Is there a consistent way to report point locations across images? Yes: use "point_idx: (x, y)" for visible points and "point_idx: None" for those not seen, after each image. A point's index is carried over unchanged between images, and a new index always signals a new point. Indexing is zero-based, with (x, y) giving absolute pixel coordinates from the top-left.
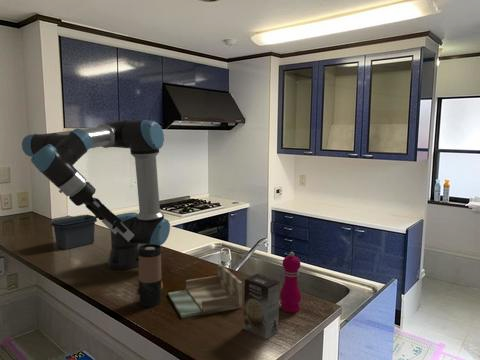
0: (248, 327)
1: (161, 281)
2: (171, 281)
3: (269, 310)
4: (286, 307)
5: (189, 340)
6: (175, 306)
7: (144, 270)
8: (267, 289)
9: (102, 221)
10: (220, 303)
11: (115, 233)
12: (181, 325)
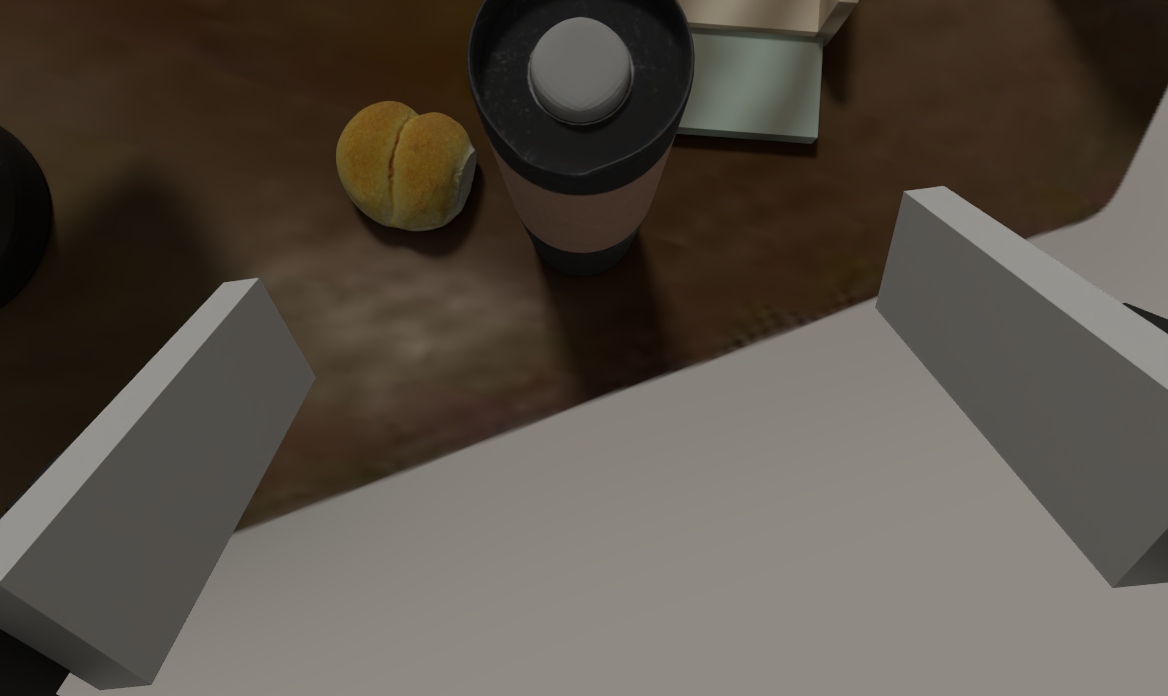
0: None
1: (400, 104)
2: (368, 49)
3: None
4: None
5: (1004, 179)
6: (698, 131)
7: (642, 204)
8: None
9: (147, 673)
10: None
11: (310, 373)
12: (872, 166)
